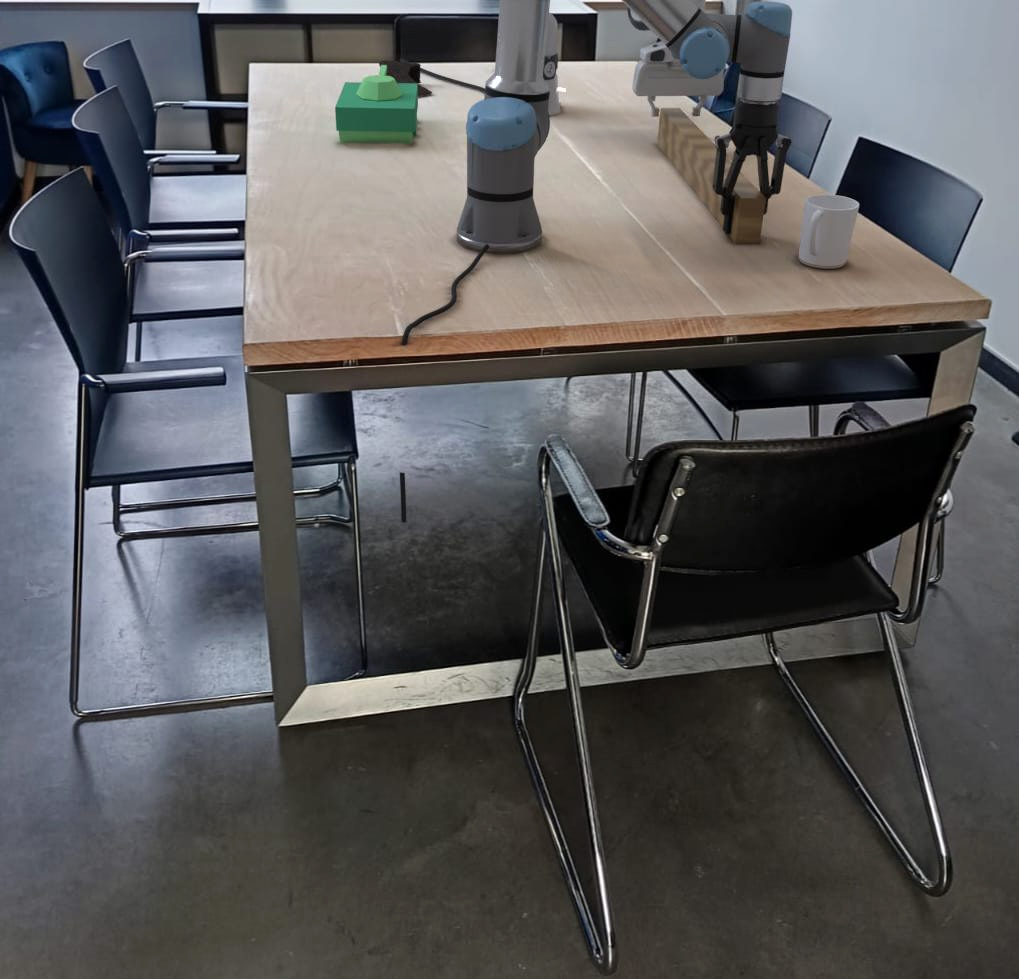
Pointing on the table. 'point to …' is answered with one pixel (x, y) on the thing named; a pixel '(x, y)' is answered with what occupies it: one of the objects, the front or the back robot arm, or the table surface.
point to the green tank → (377, 110)
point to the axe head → (405, 74)
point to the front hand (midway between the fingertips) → (740, 231)
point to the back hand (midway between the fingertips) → (675, 116)
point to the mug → (827, 230)
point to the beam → (709, 174)
